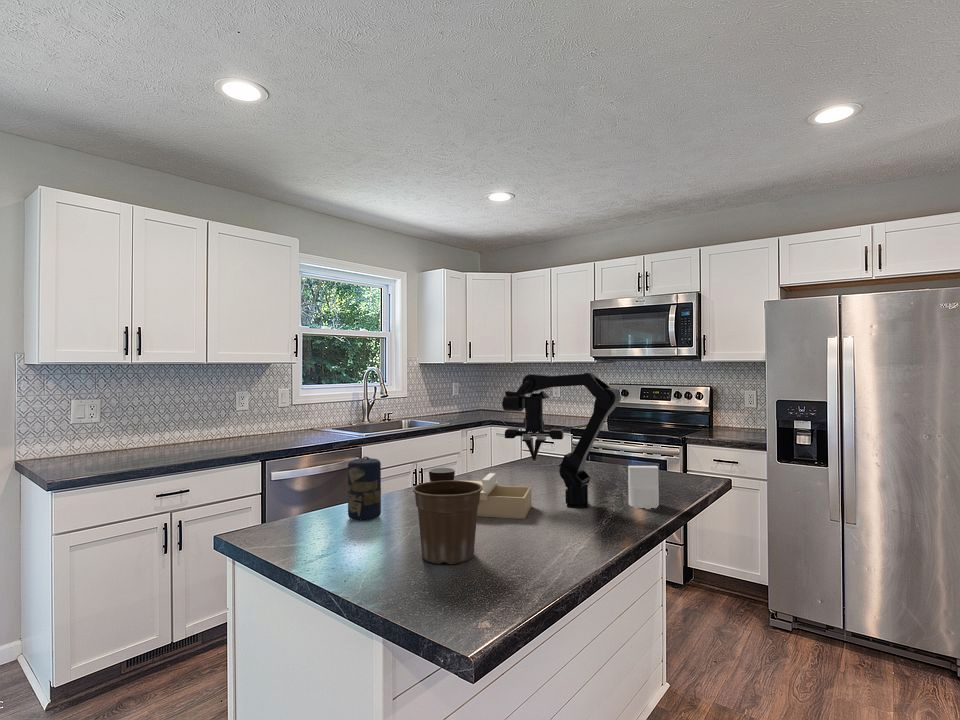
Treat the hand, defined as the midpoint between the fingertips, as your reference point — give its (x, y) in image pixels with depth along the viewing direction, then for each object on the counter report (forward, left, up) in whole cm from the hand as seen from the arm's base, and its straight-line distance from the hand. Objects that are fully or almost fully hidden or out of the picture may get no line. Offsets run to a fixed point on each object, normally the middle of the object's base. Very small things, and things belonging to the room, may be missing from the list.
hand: (534, 460), depth 178 cm
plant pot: (+13, +55, -13) cm, 58 cm away
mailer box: (+8, +15, -13) cm, 21 cm away
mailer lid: (+19, +15, -8) cm, 25 cm away
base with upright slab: (-34, 0, -13) cm, 36 cm away
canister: (+46, +30, -13) cm, 56 cm away
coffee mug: (+30, +5, -13) cm, 33 cm away
